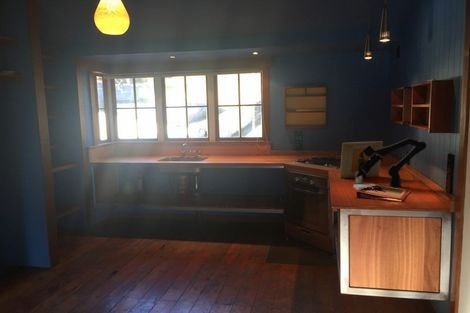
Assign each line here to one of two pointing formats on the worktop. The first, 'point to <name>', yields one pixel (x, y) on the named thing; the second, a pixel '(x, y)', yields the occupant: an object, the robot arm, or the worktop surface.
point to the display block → (362, 186)
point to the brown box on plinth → (358, 179)
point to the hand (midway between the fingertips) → (356, 175)
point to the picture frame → (351, 157)
